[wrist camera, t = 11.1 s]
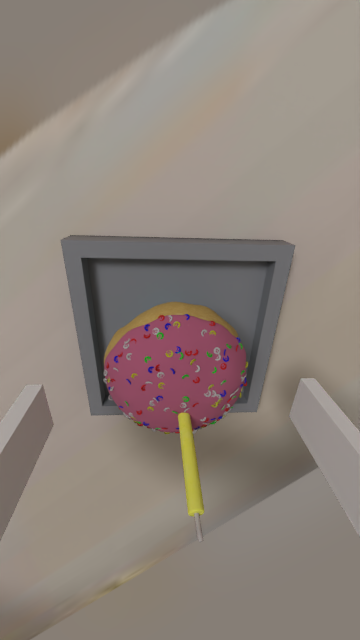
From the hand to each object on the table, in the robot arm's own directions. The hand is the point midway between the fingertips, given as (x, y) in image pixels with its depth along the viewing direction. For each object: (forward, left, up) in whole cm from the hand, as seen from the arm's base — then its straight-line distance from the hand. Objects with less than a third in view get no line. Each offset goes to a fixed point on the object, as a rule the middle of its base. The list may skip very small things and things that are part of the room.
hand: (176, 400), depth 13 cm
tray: (0, 0, -7) cm, 7 cm away
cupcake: (0, 0, -7) cm, 7 cm away
